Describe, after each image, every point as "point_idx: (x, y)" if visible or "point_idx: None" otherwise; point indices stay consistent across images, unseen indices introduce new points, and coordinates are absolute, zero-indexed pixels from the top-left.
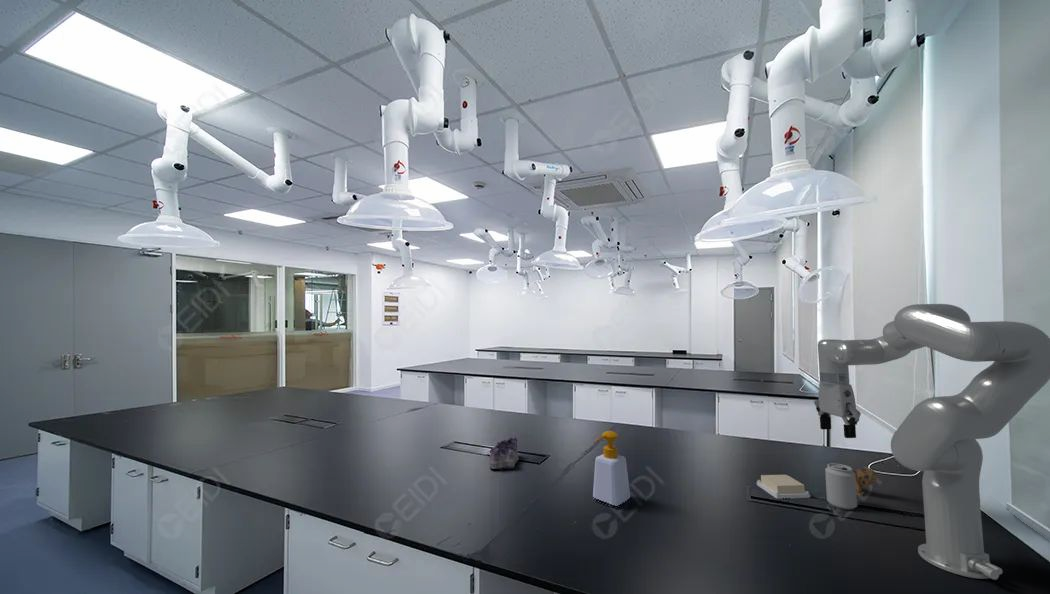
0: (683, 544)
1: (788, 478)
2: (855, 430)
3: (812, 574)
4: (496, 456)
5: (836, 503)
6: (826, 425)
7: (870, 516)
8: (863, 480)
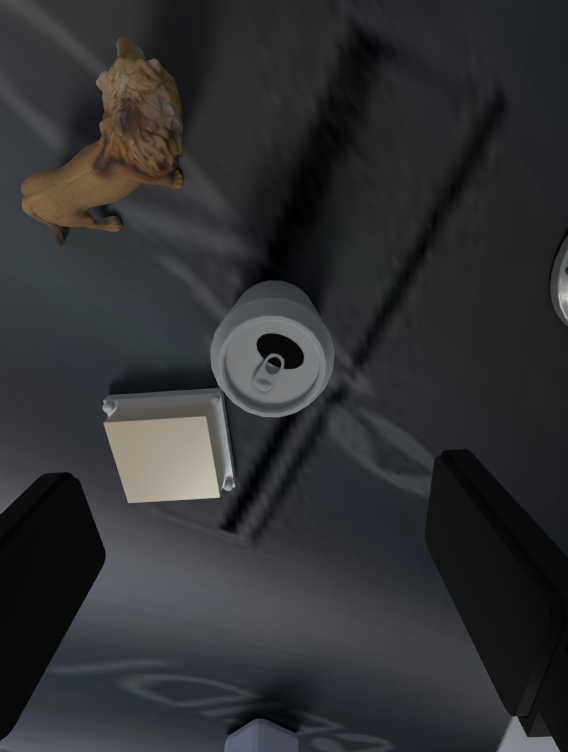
0: (425, 681)
1: (145, 434)
2: (525, 515)
3: None
4: None
5: (298, 360)
6: (67, 559)
7: (355, 286)
8: (174, 159)
